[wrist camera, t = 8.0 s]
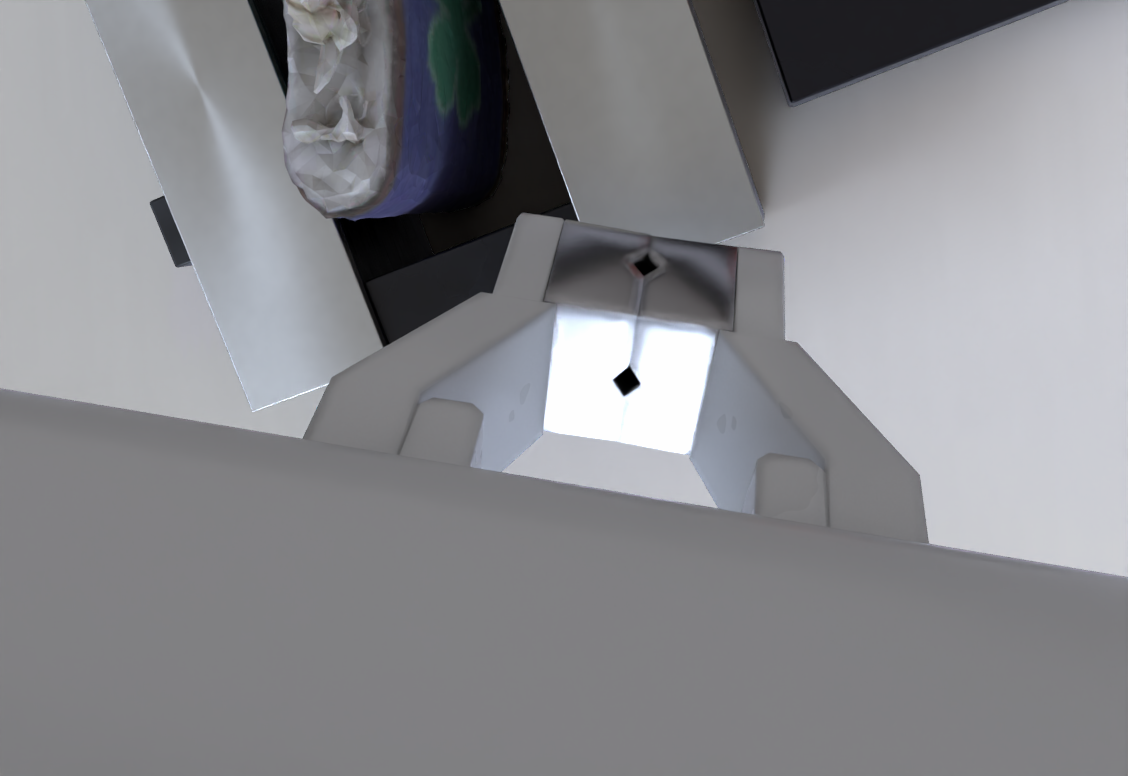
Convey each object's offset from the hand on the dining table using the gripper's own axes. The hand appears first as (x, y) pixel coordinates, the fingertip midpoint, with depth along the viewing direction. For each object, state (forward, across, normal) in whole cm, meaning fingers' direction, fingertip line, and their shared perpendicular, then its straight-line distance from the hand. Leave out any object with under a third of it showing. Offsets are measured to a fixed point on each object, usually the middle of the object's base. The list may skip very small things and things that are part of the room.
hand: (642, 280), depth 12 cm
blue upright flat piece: (+18, +6, +6) cm, 20 cm away
